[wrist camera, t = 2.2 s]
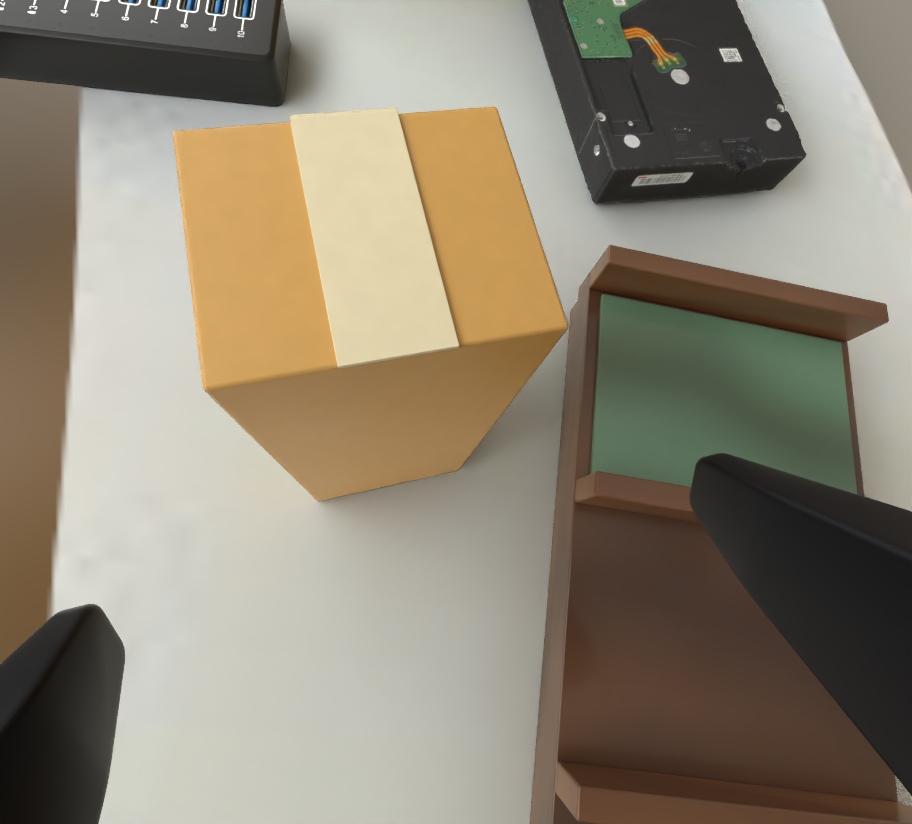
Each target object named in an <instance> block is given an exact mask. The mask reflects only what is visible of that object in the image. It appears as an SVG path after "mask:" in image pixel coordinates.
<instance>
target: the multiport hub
mask: <svg viewBox="0 0 912 824" xmlns="http://www.w3.org/2000/svg"><path fill="white" fill-rule="evenodd" d="M290 45H291V44H290V38H289V33H288V27H287V21H286V16H285V10H284V5H283V0H0V78H8V79H18V80H27V81H37V82H47V83H56V84H66V85H75V86H84V87H94V88H104V89H113V90H123V91H132V92H142V93H152V94H161V95H171V96H180V97H190V98H200V99H209V100H219V101H228V102H238V103H248V104H257V105H267V106H279V105H281V104H282V103H283V102H284V98H285V89H286V81H287V72H288V63H289V54H290Z"/></svg>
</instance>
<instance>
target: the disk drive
mask: <svg viewBox="0 0 912 824" xmlns="http://www.w3.org/2000/svg"><path fill="white" fill-rule="evenodd" d="M528 3H529V6H530V9H531V12H532V15H533V18H534V21H535V24H536V28H537V31H538V34H539V38H540V41H541V43H542V46H543V50H544V53H545V57H546V60H547V62H548V66H549V69H550V72H551V75H552V77H553V81H554V84H555V87H556V91H557V94H558V97H559V100H560V103H561V106H562V110H563V113H564V115H565V119H566V123H567V126H568V129H569V131H570V135H571V137H572V141H573V144H574V147H575V151H576V153H577V157H578V160H579V163H580V165H581V169H582V171H583V174H584V177H585V181H586V183H587V185H588V190H589V191H590V193H591V194H592V195H591V197H592V200H593V202H594V203H595V204H598V203H606V202H608V203H609V202H613V203H614V202H638V201H649V200H661V199H676V198H684V197H699V196H711V195H724V194H738V193H747V192H751V191H760V190H771V189H773V188H774V187H775V186H776V185H777V184H778V183H779V182H780V181H781V180H783V179H784V178H785V177H786V176H787V175H788V174H789V173H790V172H791V171H792V170H793V169H794V168H795V167H796V166H797V165H798V164H799V163H800V162H801V161H802V160H803V159H804V158H805V157H806V153H805V151H804V149H803V147H802V144H801V140H800V138H799V135H798V131H797V130H796V128H795V126H794V124H793V121H792V119H791V117H790V115H789V113H788V112H787V111H785V107H784V104H783V102H782V99H781V97H780V95H779V92H778V90H777V89H776V87H775V86H774V83H773V81H772V78H771V75H770V74H769V72H768V70H767V67H766V66H765V63H764V61H763V59H762V57H761V55H760V52H759V51H758V48H757V47H756V44H755V42H754V41H753V39H752V35H751V33H750V31H749V29H748V27H747V24H746V23H745V21H744V18H743V15H742V13H741V11H740V9H739V8H738V4H737V2H736V0H528Z"/></svg>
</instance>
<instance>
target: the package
mask: <svg viewBox="0 0 912 824" xmlns="http://www.w3.org/2000/svg"><path fill="white" fill-rule="evenodd" d="M289 117H290V122H286V123H273V124H260V125H247V126H233V127H220V128H207V129H194V130H180V131H175V132H174V133H173V139H174V148H175V156H176V165H177V173H178V182H179V190H180V199H181V207H182V216H183V224H184V232H185V241H186V249H187V258H188V266H189V275H190V283H191V292H192V300H193V309H194V317H195V326H196V334H197V342H198V351H199V359H200V368H201V376H202V385H203V389H204V390H205V392H206V393H208V394H209V395H210V396H211V397H212V398H213V399H214V400H215V401H216V402H217V403H218V404H219V405H220V406H221V407H222V408H223V409H224V410H225V411H226V412H227V413H228V414H229V415H230V416H231V417H232V418H233V419H234V420H235V421H236V422H237V423H238V424H239V425H240V426H241V427H242V428H243V429H244V430H245V431H246V432H247V433H248V434H249V435H250V436H251V437H252V438H253V439H255V440H256V441H257V442H258V443H259V444H260V445H261V446H262V447H263V448H264V449H265V450H266V451H267V452H268V453H269V454H270V455H271V456H272V457H273V458H274V459H275V460H276V461H277V462H278V463H279V464H280V465H281V466H282V467H283V468H284V469H285V470H286V471H287V472H288V473H289V474H290V475H291V476H292V477H293V478H294V479H295V480H296V481H297V482H298V483H299V484H300V485H302V486H303V487H304V488H305V489H306V490H307V491H308V492H309V493H310V494H311V495H312V496H313V497H314V498H315V499H316V500H317V501H322V500H327V499H331V498H336V497H340V496H345V495H349V494H354V493H358V492H363V491H367V490H372V489H376V488H381V487H385V486H390V485H394V484H399V483H403V482H408V481H412V480H417V479H421V478H426V477H430V476H435V475H440V474H444V473H449V472H453V471H458V470H459V469H460V468H461V466H462V465H463V464H464V462H465V461H466V460H467V458H468V457H469V456H470V455H471V453H472V452H473V451H474V449H475V448H476V447H477V445H478V444H479V443H480V442H481V440H482V439H483V438H484V436H485V435H486V434H487V433H488V431H489V430H490V429H491V427H492V426H493V425H494V423H495V422H496V421H497V420H498V418H499V417H500V416H501V414H502V413H503V412H504V411H505V409H506V408H507V407H508V405H509V404H510V403H511V401H512V400H513V399H514V398H515V396H516V395H517V394H518V392H519V391H520V390H521V388H522V387H523V386H524V385H525V383H526V382H527V381H528V379H529V378H530V377H531V376H532V374H533V373H534V372H535V370H536V369H537V368H538V366H539V365H540V364H541V363H542V361H543V360H544V359H545V357H546V356H547V355H548V354H549V352H550V351H551V350H552V348H553V347H554V346H555V344H556V343H557V342H558V341H559V339H560V338H561V337H562V335H563V334H564V333H565V331H566V330H567V329H568V323H567V320H566V317H565V314H564V311H563V308H562V305H561V302H560V299H559V296H558V293H557V290H556V287H555V284H554V280H553V277H552V274H551V271H550V268H549V265H548V262H547V259H546V256H545V253H544V250H543V247H542V244H541V241H540V238H539V235H538V232H537V229H536V226H535V223H534V220H533V216H532V213H531V210H530V207H529V204H528V201H527V198H526V195H525V192H524V189H523V186H522V183H521V180H520V177H519V174H518V171H517V168H516V165H515V162H514V159H513V156H512V152H511V149H510V146H509V143H508V140H507V137H506V134H505V131H504V128H503V125H502V122H501V119H500V116H499V113H498V110H497V108H496V107H485V108H471V109H458V110H445V111H432V112H418V113H405V114H398V112H397V108H383V109H369V110H355V111H342V112H328V113H314V114H301V115H289Z"/></svg>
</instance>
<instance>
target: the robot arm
mask: <svg viewBox="0 0 912 824" xmlns="http://www.w3.org/2000/svg"><path fill="white" fill-rule="evenodd" d="M689 500H690V505H691V508H692V510H693V512H694V513H695V515H696V516H697V518H698V519H699V521H700V522H701V524H702V525H703V527H704V528H705V530H706V531H707V533H708V534H709V536H710V537H711V539H712V540H713V542H714V543H715V545H716V546H717V548H718V549H719V551H720V552H721V554H722V556H723V557H724V559H725V560H726V562H727V563H728V565H729V566H730V568H731V569H732V571H733V572H734V574H735V575H736V577H737V578H738V579H739V581H740V582H741V584H742V585H743V586H744V588H745V589H746V591H747V592H748V593H749V594H750V596H751V597H752V598H753V600H754V601H755V602H756V603H757V605H758V606H759V607H760V608H761V610H762V611H763V612H764V613H765V615H766V616H767V617H768V618H769V620H770V621H771V622H772V623H773V624H774V626H775V627H776V628H777V629H778V631H779V632H780V633H781V634H782V636H783V637H784V638H785V639H786V641H787V642H788V643H789V644H790V646H791V647H792V648H793V649H794V650H795V652H796V653H797V654H798V655H799V657H800V658H801V659H802V660H803V662H804V663H805V664H806V665H807V667H808V668H809V669H810V670H811V672H812V673H813V674H814V675H815V676H816V678H817V679H818V680H819V681H820V683H821V684H822V685H823V686H824V688H825V689H826V690H827V691H828V693H829V694H830V695H831V696H832V697H833V699H834V700H835V701H836V702H837V704H838V705H839V706H840V707H841V709H842V710H843V711H844V712H845V714H846V715H847V716H848V717H849V719H850V720H851V721H852V722H853V723H854V725H855V726H856V727H857V728H858V730H859V731H860V732H861V733H862V735H863V736H864V737H865V738H866V740H867V741H868V742H869V743H870V744H871V746H872V747H873V748H874V749H875V751H876V752H877V753H878V754H879V756H880V757H881V758H882V759H883V761H884V762H885V763H886V764H887V766H888V767H889V768H890V769H891V770H892V772H893V773H894V774H895V775H896V777H897V778H898V779H899V780H900V782H901V783H902V784H903V785H904V787H905V788H906V789H907V790H908V792H909V793H910V794H911V795H912V512H911V511H908V510H905V509H902V508H899V507H895V506H892V505H889V504H886V503H883V502H879V501H876V500H873V499H870V498H867V497H864V496H860V495H857V494H854V493H851V492H848V491H844V490H841V489H838V488H835V487H832V486H829V485H825V484H822V483H819V482H816V481H813V480H809V479H806V478H803V477H800V476H797V475H794V474H790V473H787V472H784V471H781V470H778V469H775V468H771V467H768V466H765V465H762V464H759V463H755V462H752V461H749V460H746V459H743V458H740V457H736V456H733V455H730V454H726V453H717V454H713V455H709V456H705V457H702V458H700V459H699V460H698V461H697V463H696V466H695V470H694V475H693V480H692V485H691V490H690V496H689ZM124 664H125V650H124V646H123V643H122V641H121V639H120V637H119V636H118V634H117V633H116V631H115V629H114V628H113V626H112V625H111V623H110V621H109V620H108V618H107V617H106V615H105V613H104V612H103V610H102V609H101V608H100V607H99V606H97V605H95V604H87V605H83V606H79V607H75V608H71V609H66V610H63V611H61V612H58V613H57V614H55V615H54V616H53V617H51V618H50V619H49V620H48V621H47V622H46V623H45V624H44V625H43V626H42V627H41V628H39V629H38V630H37V631H36V632H35V633H34V634H33V635H32V636H31V637H30V638H28V640H27V641H25V642H24V643H23V644H22V645H21V646H20V647H19V648H18V649H17V650H15V651H14V652H13V653H12V654H11V655H10V656H9V657H8V658H7V659H6V660H4V661H3V662H2V663H1V664H0V824H98V823H99V819H100V814H101V810H102V806H103V802H104V797H105V793H106V788H107V784H108V778H109V772H110V766H111V760H112V752H113V745H114V738H115V730H116V723H117V715H118V708H119V701H120V693H121V686H122V679H123V671H124Z"/></svg>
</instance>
